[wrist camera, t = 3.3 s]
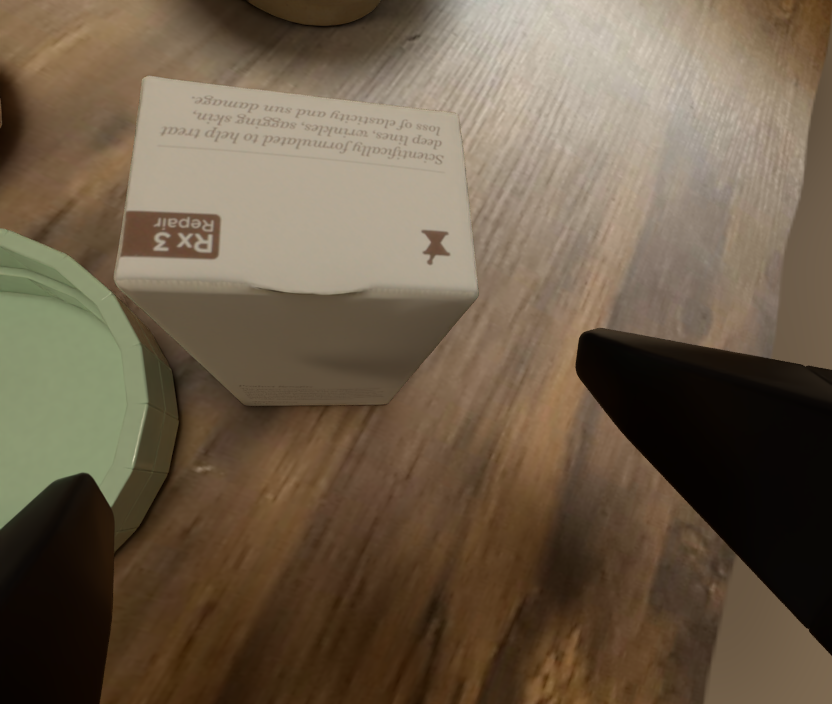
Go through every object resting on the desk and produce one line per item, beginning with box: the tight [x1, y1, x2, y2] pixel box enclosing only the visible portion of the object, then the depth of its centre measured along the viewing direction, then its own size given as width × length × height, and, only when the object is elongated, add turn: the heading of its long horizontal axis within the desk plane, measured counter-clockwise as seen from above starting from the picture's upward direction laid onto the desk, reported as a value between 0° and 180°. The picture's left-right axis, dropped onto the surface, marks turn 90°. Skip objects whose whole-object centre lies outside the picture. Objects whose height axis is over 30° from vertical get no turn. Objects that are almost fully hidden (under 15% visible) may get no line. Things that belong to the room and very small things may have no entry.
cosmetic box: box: [114, 76, 479, 406], centre depth 13 cm, size 6×4×12 cm
